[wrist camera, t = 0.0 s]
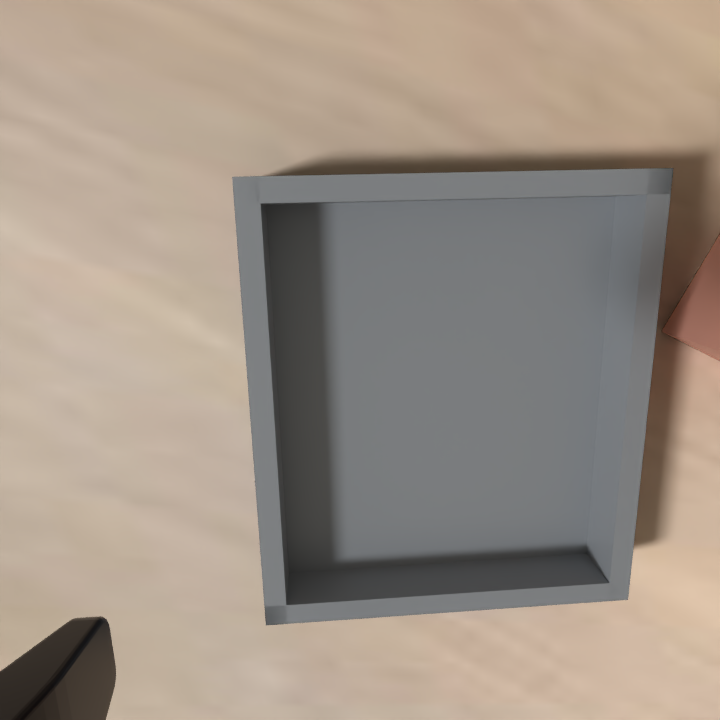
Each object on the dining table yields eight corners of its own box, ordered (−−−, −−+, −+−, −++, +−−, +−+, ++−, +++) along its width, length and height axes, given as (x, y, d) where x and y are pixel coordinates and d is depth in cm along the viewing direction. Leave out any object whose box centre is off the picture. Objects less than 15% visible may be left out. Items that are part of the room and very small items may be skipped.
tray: (594, 558, 25) (628, 599, 22) (271, 579, 24) (266, 625, 21) (627, 174, 21) (673, 168, 18) (243, 182, 20) (232, 177, 17)
